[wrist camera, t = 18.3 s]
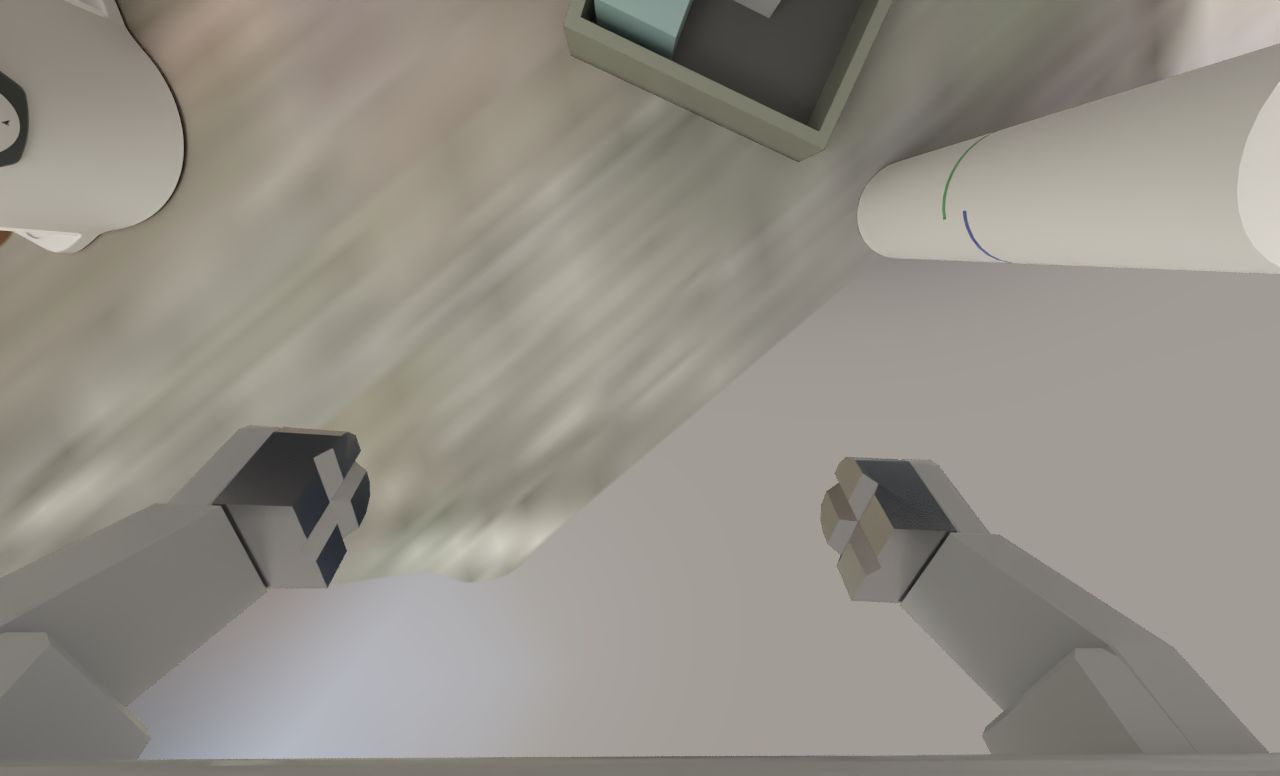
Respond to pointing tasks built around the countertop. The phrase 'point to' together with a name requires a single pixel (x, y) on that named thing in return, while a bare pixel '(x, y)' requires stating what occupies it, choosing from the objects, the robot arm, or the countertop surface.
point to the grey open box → (736, 59)
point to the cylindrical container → (1104, 182)
